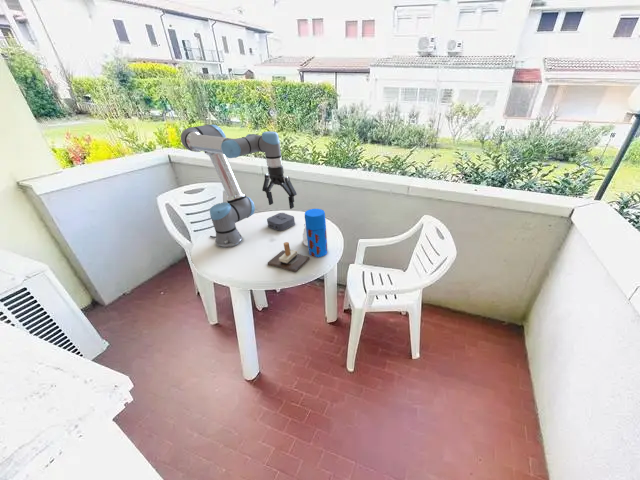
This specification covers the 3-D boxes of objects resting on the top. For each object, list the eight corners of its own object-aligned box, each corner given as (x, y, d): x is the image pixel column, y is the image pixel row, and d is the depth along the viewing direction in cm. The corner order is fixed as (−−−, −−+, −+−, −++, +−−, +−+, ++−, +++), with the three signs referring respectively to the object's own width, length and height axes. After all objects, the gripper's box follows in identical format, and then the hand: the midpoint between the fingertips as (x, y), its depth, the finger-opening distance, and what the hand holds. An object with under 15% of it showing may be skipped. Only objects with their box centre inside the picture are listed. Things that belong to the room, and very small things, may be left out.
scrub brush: (287, 265, 150) (284, 248, 144) (279, 263, 152) (276, 246, 146) (297, 255, 158) (295, 240, 152) (290, 254, 159) (287, 238, 154)
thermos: (318, 245, 170) (315, 206, 156) (331, 251, 164) (329, 211, 150) (305, 253, 163) (300, 213, 149) (317, 259, 157) (314, 218, 143)
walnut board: (268, 264, 153) (267, 262, 153) (283, 252, 164) (282, 249, 163) (295, 272, 147) (295, 269, 147) (309, 259, 158) (309, 256, 157)
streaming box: (296, 224, 195) (295, 217, 192) (281, 232, 185) (279, 224, 182) (282, 218, 201) (281, 212, 199) (266, 226, 192) (265, 219, 189)
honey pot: (326, 245, 171) (324, 217, 161) (305, 248, 168) (301, 220, 157) (321, 235, 181) (319, 209, 171) (301, 238, 178) (298, 211, 167)
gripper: (300, 166, 139) (304, 207, 151) (260, 161, 148) (267, 200, 160) (291, 170, 134) (297, 212, 146) (250, 165, 142) (258, 204, 154)
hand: (281, 206), depth 153 cm, fingers open, 13 cm apart
